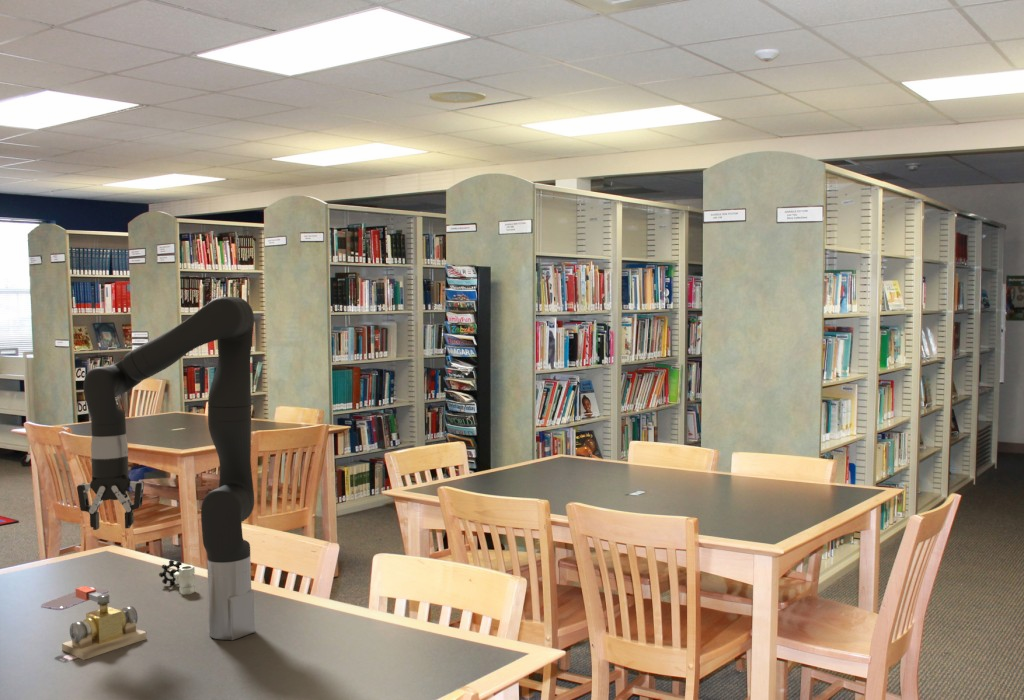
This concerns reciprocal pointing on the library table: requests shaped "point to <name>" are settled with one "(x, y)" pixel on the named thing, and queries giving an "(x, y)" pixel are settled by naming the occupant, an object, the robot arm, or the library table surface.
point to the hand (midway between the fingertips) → (112, 528)
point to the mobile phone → (68, 600)
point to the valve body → (103, 624)
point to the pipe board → (91, 649)
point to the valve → (180, 577)
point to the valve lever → (92, 595)
